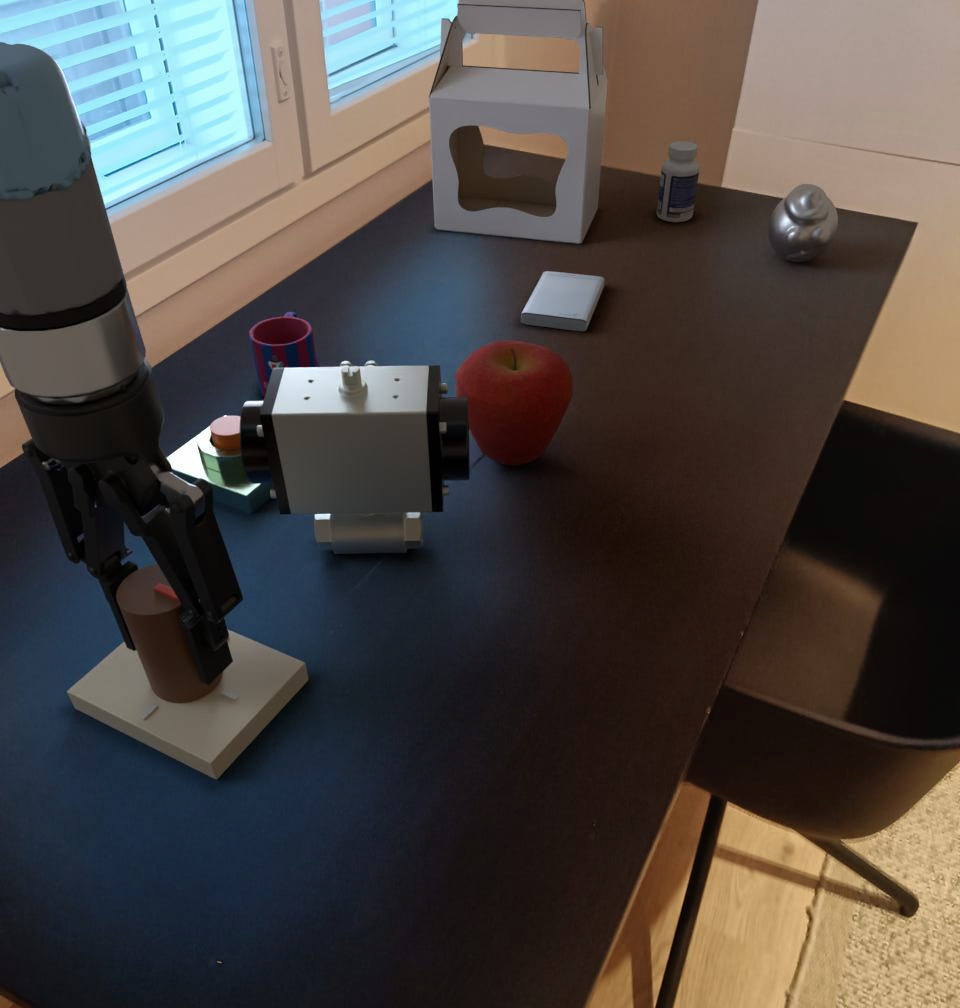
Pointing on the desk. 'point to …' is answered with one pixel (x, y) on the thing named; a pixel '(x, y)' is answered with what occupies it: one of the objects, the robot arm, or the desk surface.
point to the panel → (193, 704)
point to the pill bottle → (678, 183)
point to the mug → (281, 346)
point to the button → (226, 432)
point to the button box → (219, 473)
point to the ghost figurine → (803, 224)
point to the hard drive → (563, 301)
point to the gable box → (517, 124)
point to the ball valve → (358, 450)
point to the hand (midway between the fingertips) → (179, 654)
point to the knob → (160, 636)
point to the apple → (514, 398)
